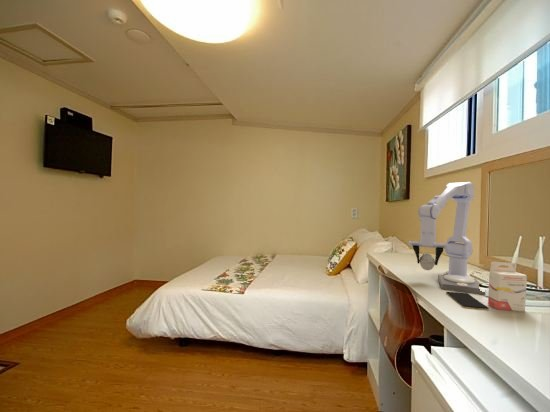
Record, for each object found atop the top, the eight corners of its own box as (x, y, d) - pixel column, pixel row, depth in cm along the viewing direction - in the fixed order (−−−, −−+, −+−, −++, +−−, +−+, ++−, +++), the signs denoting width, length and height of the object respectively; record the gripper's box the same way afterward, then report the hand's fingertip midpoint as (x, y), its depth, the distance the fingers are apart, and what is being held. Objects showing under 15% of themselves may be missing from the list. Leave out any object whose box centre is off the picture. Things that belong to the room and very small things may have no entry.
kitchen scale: (437, 278, 125) (438, 272, 125) (475, 283, 119) (475, 276, 119) (442, 288, 111) (442, 281, 111) (485, 294, 105) (485, 287, 105)
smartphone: (464, 305, 91) (445, 291, 105) (464, 309, 91) (445, 294, 105) (489, 308, 89) (467, 293, 104) (489, 311, 89) (467, 296, 104)
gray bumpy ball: (429, 269, 123) (431, 253, 123) (437, 273, 116) (439, 256, 116) (415, 267, 124) (417, 251, 124) (422, 270, 117) (424, 254, 117)
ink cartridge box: (497, 310, 90) (499, 264, 89) (487, 304, 95) (488, 261, 94) (526, 311, 89) (528, 265, 89) (514, 305, 94) (516, 262, 94)
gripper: (409, 232, 119) (408, 263, 119) (449, 234, 113) (448, 267, 113) (409, 230, 126) (408, 260, 126) (446, 232, 119) (445, 264, 120)
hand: (427, 263), depth 120 cm, fingers closed on gray bumpy ball, 6 cm apart
